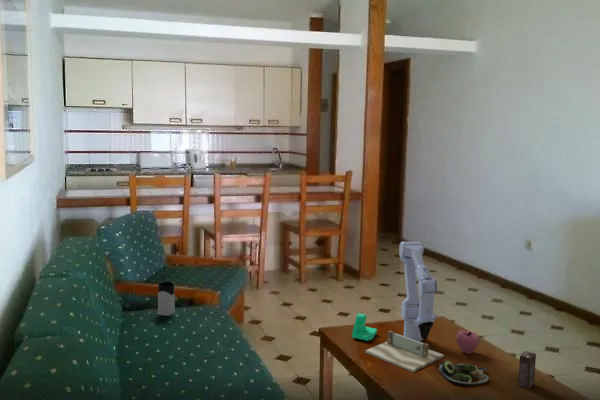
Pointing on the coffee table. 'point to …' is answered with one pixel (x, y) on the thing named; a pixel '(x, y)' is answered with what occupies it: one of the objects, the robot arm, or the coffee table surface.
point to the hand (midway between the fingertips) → (424, 338)
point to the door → (407, 343)
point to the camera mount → (363, 329)
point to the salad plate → (462, 373)
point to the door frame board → (403, 355)
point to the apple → (467, 341)
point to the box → (527, 369)
